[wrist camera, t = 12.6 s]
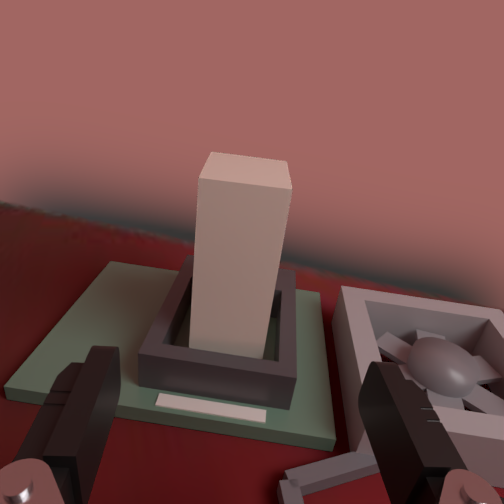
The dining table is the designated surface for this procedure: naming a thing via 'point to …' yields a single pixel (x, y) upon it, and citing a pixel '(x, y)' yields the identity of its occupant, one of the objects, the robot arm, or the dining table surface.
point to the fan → (416, 380)
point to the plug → (237, 252)
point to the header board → (194, 359)
